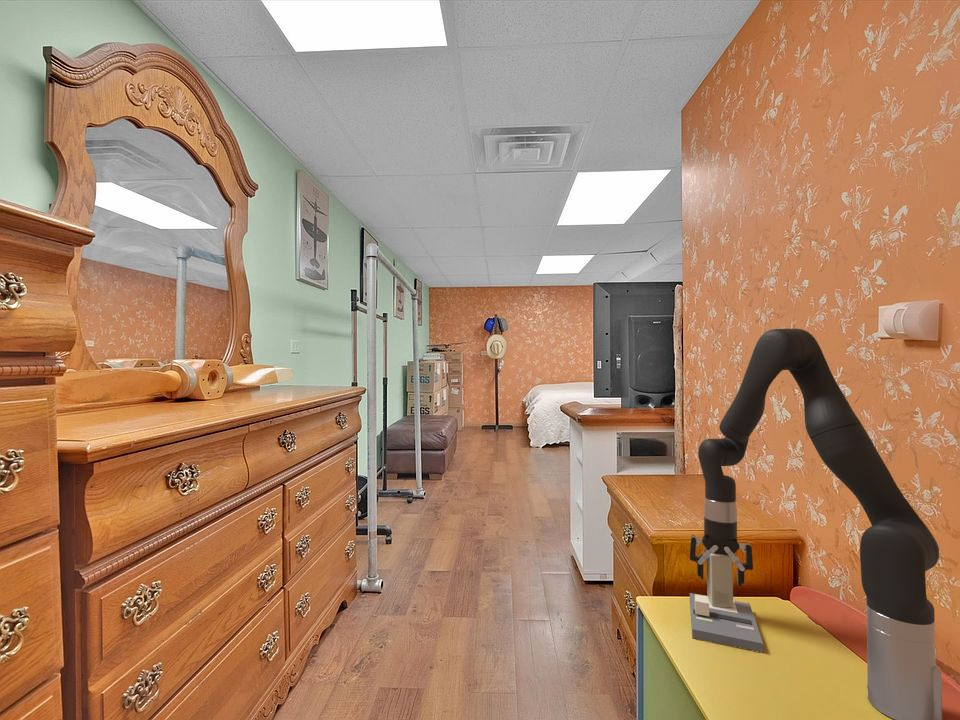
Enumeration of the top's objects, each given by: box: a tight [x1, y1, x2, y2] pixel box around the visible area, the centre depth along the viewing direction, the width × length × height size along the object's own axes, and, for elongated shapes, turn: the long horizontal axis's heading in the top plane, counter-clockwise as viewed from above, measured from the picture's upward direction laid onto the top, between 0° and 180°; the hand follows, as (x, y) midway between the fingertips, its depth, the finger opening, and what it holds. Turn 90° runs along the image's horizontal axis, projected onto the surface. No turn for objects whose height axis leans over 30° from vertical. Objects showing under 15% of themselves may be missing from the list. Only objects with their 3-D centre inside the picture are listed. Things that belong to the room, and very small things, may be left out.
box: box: [706, 550, 734, 608], centre depth 119 cm, size 5×4×13 cm
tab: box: [694, 593, 709, 616], centre depth 114 cm, size 3×4×3 cm
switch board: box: [689, 592, 764, 654], centre depth 113 cm, size 14×20×2 cm
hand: (720, 581), depth 119 cm, fingers open, 8 cm apart
